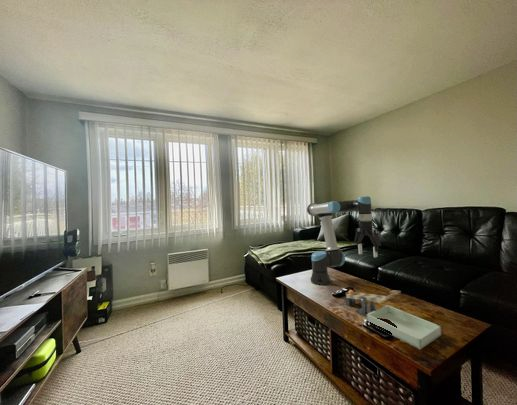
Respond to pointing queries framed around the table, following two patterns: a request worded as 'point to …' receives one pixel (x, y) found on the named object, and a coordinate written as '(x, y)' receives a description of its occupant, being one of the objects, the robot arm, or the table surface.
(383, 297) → the lever
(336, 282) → the table surface
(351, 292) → the ball
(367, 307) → the stand
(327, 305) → the table surface
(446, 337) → the table surface
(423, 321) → the tray
